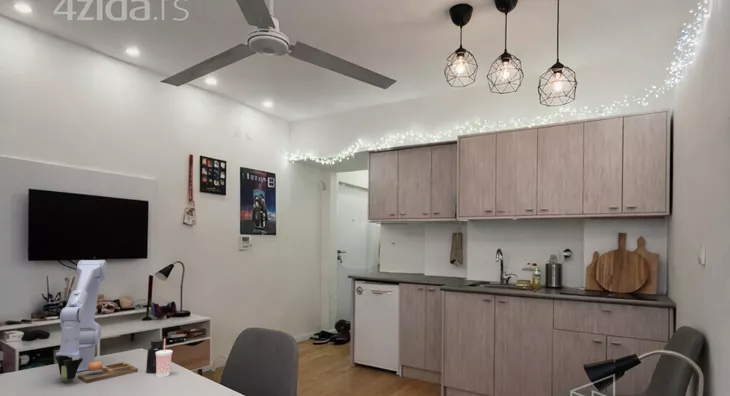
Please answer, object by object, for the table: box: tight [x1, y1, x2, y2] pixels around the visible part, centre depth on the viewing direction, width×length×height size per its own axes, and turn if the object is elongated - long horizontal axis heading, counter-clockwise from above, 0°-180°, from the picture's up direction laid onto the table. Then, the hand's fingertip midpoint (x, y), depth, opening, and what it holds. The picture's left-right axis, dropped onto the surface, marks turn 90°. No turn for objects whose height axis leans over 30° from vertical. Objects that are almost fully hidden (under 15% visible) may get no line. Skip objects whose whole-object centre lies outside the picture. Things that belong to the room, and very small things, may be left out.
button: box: [87, 360, 103, 372], centre depth 162 cm, size 4×4×2 cm
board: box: [77, 361, 139, 384], centre depth 166 cm, size 9×18×3 cm, turn 142°
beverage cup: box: [155, 338, 174, 378], centre depth 166 cm, size 6×6×14 cm
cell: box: [60, 365, 75, 385], centre depth 158 cm, size 4×4×7 cm
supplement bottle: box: [145, 338, 167, 374], centre depth 172 cm, size 7×7×12 cm
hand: (67, 376), depth 157 cm, fingers open, 7 cm apart
